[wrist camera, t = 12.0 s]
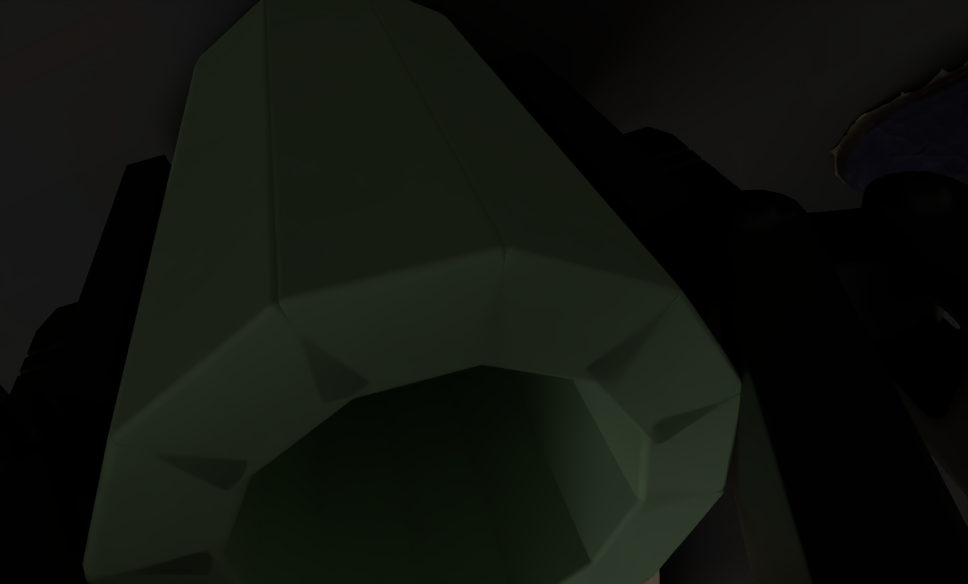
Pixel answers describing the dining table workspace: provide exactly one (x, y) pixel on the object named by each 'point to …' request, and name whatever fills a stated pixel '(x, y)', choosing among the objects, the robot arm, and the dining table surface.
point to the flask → (910, 134)
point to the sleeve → (397, 335)
